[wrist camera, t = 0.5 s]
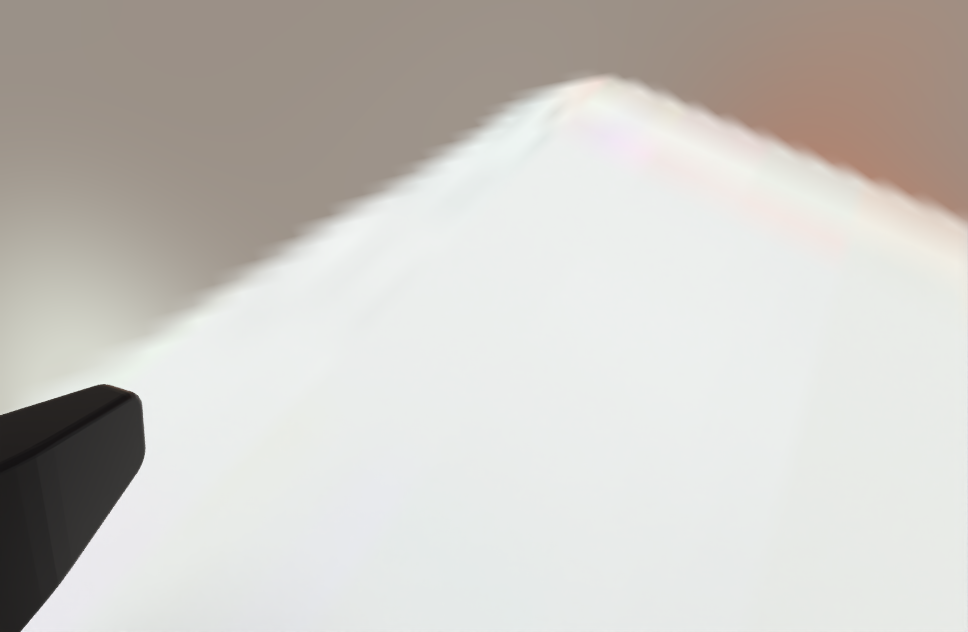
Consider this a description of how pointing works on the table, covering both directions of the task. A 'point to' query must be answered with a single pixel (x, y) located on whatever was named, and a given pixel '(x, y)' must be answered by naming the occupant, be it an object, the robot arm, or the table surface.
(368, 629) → the table surface
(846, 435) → the table surface
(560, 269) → the table surface
